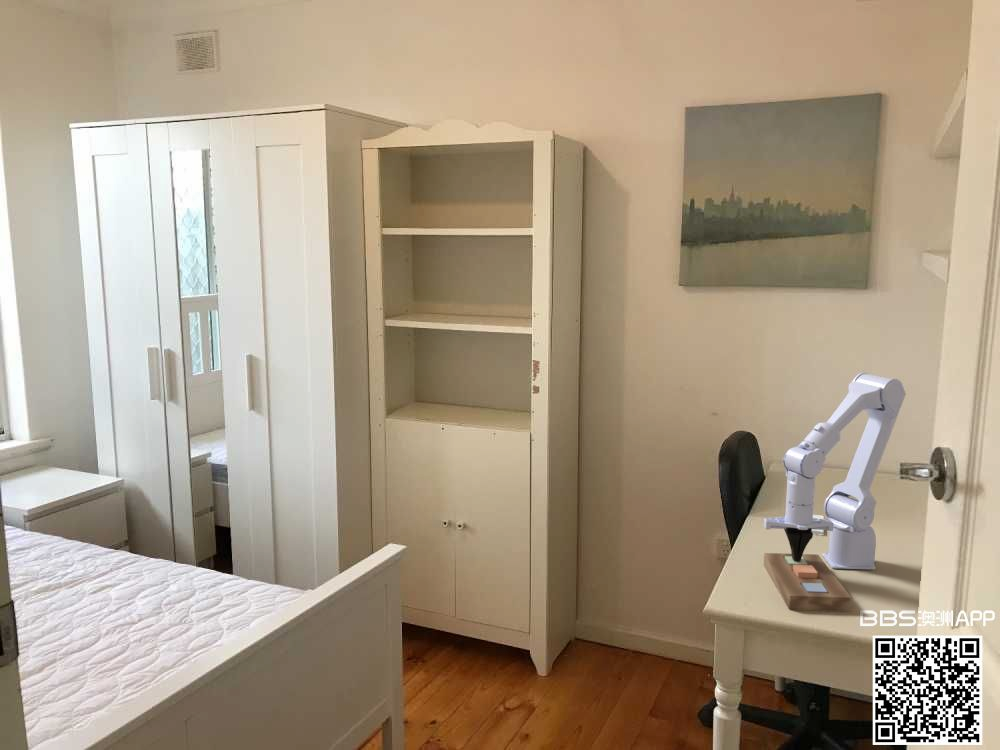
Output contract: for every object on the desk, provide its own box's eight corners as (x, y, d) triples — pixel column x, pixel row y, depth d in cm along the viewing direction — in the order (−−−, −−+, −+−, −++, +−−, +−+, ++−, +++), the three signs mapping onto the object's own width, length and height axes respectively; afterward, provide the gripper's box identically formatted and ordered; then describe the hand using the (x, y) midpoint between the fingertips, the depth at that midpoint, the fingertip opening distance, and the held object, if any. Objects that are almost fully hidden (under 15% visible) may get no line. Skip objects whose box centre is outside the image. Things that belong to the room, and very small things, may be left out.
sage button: (802, 566, 183) (802, 556, 183) (807, 574, 180) (807, 563, 179) (783, 566, 184) (784, 556, 183) (788, 573, 180) (789, 563, 179)
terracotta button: (811, 575, 176) (812, 565, 176) (816, 583, 173) (817, 572, 172) (792, 574, 177) (793, 564, 176) (797, 582, 173) (798, 572, 172)
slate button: (820, 594, 170) (821, 583, 169) (826, 602, 166) (827, 591, 165) (801, 593, 170) (801, 582, 170) (806, 602, 166) (807, 591, 166)
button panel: (817, 566, 185) (818, 554, 185) (850, 611, 164) (851, 597, 163) (763, 565, 186) (764, 553, 186) (789, 609, 165) (789, 595, 164)
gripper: (770, 506, 176) (767, 565, 178) (839, 508, 174) (835, 567, 177) (763, 496, 182) (759, 553, 185) (829, 497, 181) (825, 555, 184)
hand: (796, 559), depth 181 cm, fingers closed
